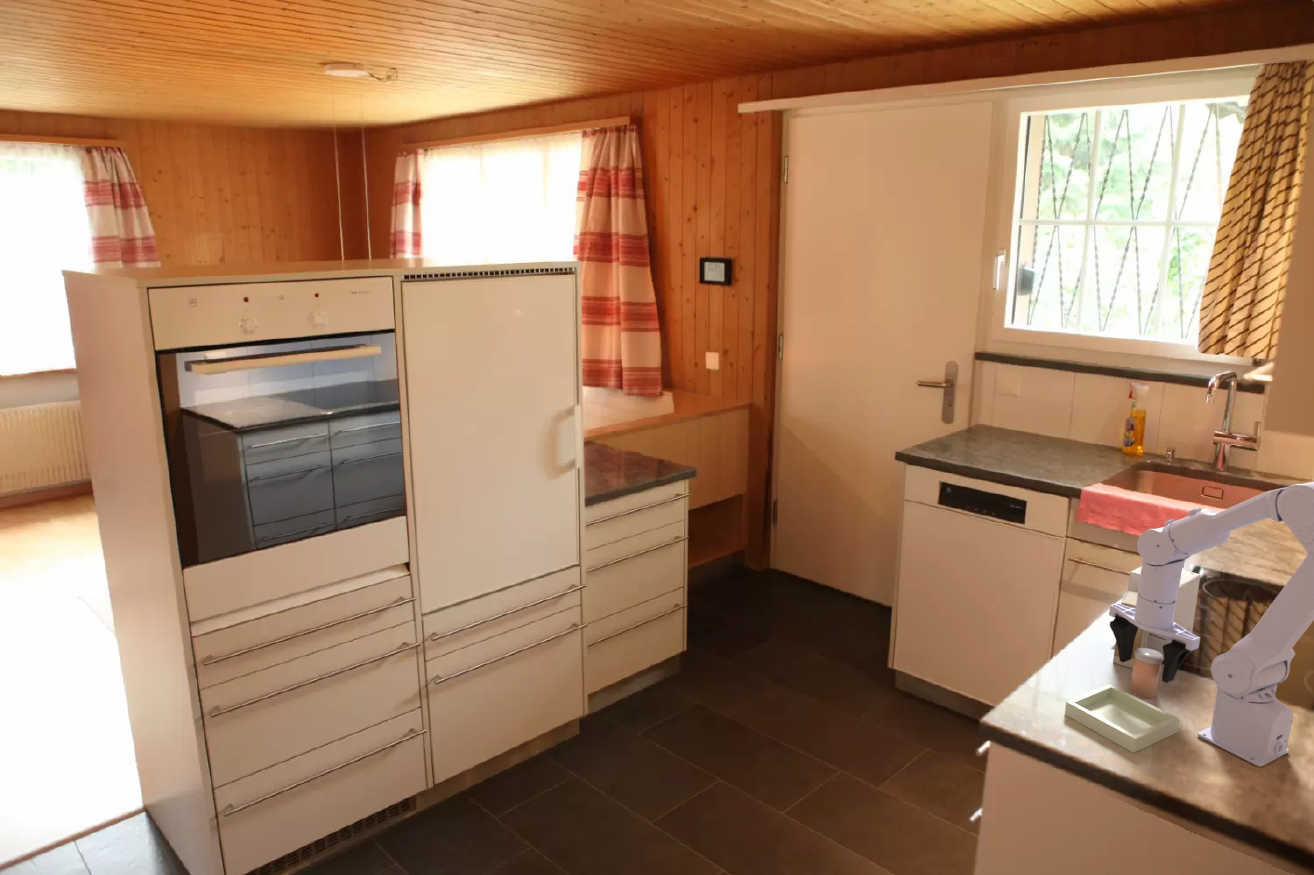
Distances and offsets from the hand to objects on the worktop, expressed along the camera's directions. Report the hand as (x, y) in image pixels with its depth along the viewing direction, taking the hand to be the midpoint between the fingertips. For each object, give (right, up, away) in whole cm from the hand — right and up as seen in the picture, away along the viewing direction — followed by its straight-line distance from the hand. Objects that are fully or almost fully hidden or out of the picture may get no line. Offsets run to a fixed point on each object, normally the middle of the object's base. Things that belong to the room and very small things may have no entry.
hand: (1145, 670), depth 150 cm
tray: (-9, -6, -8) cm, 13 cm away
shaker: (0, -4, +1) cm, 4 cm away
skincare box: (+3, -1, +11) cm, 12 cm away
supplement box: (+11, 0, +17) cm, 20 cm away
